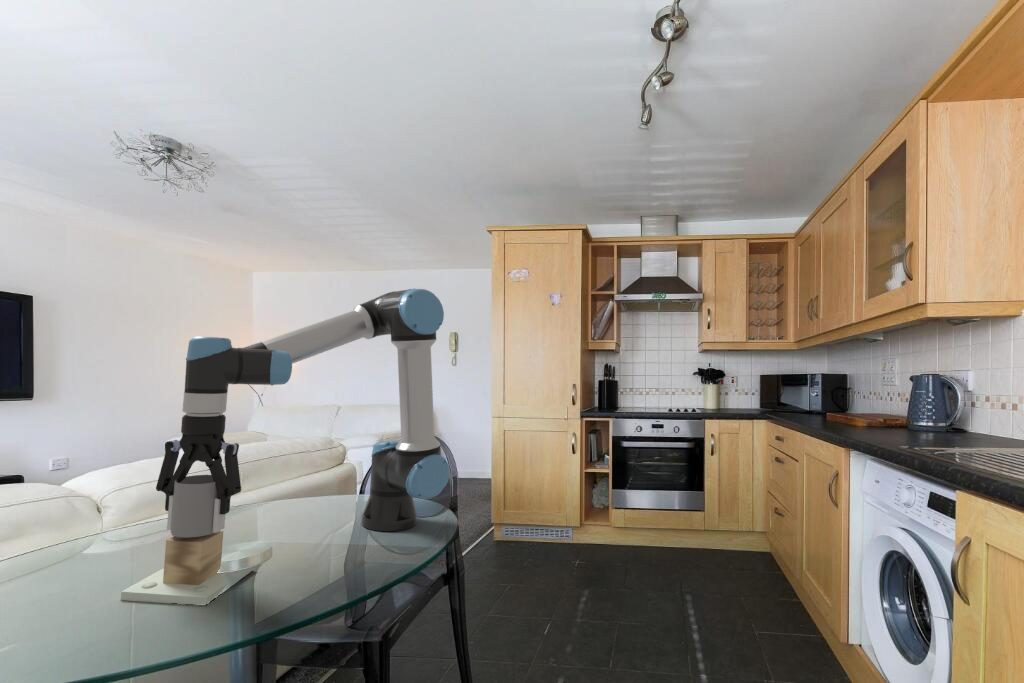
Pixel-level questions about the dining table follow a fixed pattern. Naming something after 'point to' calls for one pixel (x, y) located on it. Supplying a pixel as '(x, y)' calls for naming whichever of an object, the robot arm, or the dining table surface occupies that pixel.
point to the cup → (193, 506)
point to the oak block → (192, 558)
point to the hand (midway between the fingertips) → (196, 528)
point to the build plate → (174, 590)
